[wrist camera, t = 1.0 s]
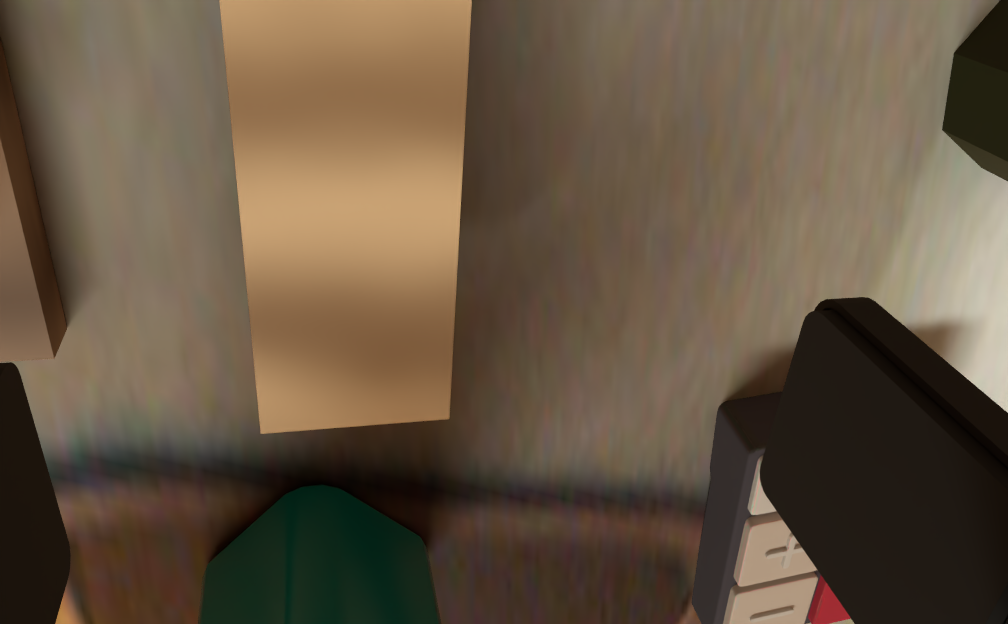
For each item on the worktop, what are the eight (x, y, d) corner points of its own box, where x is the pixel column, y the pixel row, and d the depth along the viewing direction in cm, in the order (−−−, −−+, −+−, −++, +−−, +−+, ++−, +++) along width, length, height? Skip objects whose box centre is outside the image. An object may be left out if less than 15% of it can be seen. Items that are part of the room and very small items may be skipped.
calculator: (715, 659, 44) (758, 462, 36) (684, 594, 48) (716, 399, 39) (895, 617, 46) (977, 420, 38) (852, 557, 50) (918, 364, 41)
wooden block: (186, -485, 17) (168, -536, 15) (468, -438, 18) (497, -477, 16) (263, 378, 28) (260, 433, 26) (435, 367, 30) (449, 418, 27)
